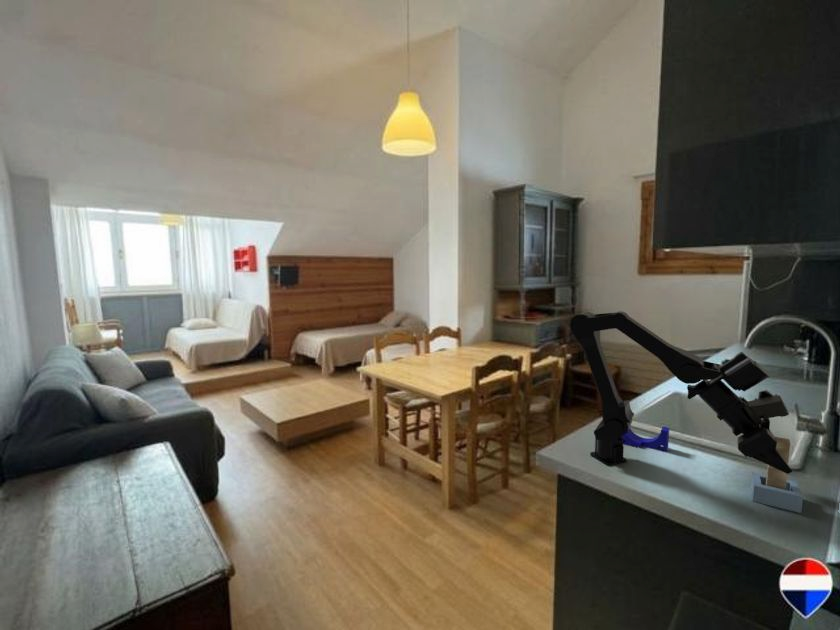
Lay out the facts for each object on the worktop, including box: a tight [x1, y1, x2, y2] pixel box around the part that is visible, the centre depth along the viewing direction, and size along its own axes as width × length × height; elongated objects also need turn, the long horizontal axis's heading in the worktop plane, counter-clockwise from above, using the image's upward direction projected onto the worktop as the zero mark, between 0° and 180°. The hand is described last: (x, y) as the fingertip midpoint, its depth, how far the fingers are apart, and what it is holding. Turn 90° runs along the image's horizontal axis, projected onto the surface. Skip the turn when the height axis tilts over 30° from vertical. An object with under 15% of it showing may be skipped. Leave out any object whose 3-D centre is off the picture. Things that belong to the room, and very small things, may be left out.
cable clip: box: [621, 426, 670, 453], centre depth 112 cm, size 12×4×6 cm, turn 50°
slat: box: [766, 436, 791, 490], centre depth 85 cm, size 3×2×13 cm, turn 53°
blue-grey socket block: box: [749, 471, 804, 514], centre depth 86 cm, size 8×7×4 cm
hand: (786, 463), depth 84 cm, fingers open, 9 cm apart
